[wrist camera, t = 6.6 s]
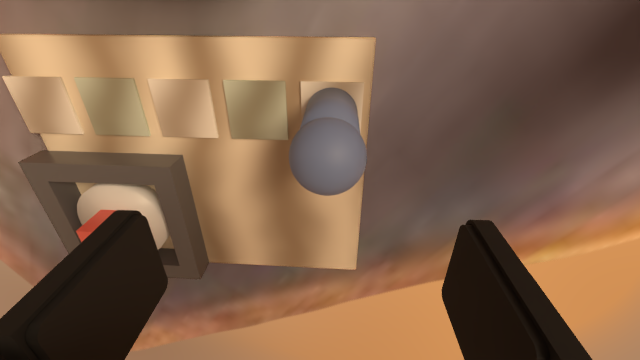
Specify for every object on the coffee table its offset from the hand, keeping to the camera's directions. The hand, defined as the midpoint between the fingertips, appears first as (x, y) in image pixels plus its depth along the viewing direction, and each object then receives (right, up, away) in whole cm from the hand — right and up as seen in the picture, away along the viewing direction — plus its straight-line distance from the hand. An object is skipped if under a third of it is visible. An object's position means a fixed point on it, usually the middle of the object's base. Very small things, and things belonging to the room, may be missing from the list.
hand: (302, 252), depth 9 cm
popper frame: (-15, 0, +17) cm, 22 cm away
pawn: (+1, +7, +11) cm, 13 cm away
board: (-8, +3, +15) cm, 17 cm away
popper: (-15, 0, +17) cm, 23 cm away
